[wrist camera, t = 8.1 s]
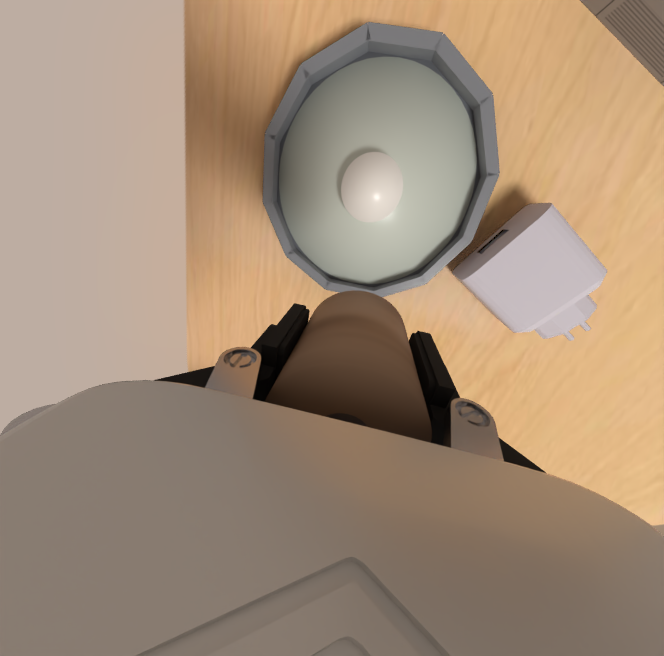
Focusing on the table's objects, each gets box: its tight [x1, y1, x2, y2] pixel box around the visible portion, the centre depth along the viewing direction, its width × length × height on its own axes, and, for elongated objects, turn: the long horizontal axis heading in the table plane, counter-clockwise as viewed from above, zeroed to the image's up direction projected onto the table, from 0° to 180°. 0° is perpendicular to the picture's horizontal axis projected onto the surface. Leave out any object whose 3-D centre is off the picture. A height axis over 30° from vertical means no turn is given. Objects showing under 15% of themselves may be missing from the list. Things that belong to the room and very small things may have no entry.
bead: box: [265, 290, 432, 443], centre depth 10 cm, size 5×5×6 cm
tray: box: [263, 22, 500, 297], centre depth 25 cm, size 22×22×2 cm
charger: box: [452, 203, 607, 341], centre depth 26 cm, size 5×9×15 cm
